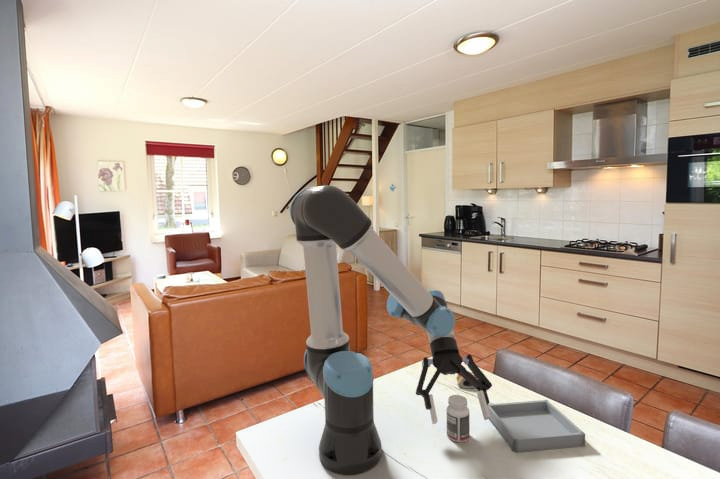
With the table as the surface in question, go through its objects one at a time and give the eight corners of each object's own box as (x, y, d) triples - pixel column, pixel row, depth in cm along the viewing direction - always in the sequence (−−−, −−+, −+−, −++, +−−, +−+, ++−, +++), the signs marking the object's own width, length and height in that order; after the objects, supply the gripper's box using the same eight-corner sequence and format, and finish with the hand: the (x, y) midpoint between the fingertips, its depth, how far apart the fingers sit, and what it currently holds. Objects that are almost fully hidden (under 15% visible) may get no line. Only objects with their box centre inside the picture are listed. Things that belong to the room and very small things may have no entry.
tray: (514, 452, 91) (514, 440, 91) (485, 415, 107) (486, 404, 107) (584, 446, 93) (585, 433, 93) (546, 410, 109) (546, 399, 108)
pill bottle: (467, 429, 101) (467, 394, 100) (471, 443, 95) (471, 405, 94) (445, 429, 101) (445, 393, 100) (448, 442, 96) (448, 405, 94)
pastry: (455, 375, 132) (455, 365, 131) (475, 376, 131) (475, 366, 130) (457, 389, 123) (457, 377, 122) (479, 390, 122) (479, 378, 121)
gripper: (480, 343, 113) (503, 420, 100) (397, 349, 111) (410, 428, 98) (488, 332, 107) (514, 412, 94) (401, 338, 105) (415, 420, 92)
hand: (461, 420), depth 96 cm, fingers open, 13 cm apart
